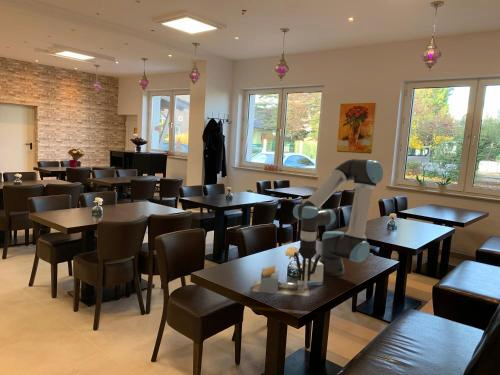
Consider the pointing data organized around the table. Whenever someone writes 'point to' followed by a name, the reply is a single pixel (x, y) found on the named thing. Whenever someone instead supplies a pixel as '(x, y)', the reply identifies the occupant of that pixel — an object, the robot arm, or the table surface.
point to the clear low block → (292, 286)
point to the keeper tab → (268, 271)
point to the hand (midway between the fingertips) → (305, 287)
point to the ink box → (318, 274)
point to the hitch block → (270, 283)
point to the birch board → (281, 290)
